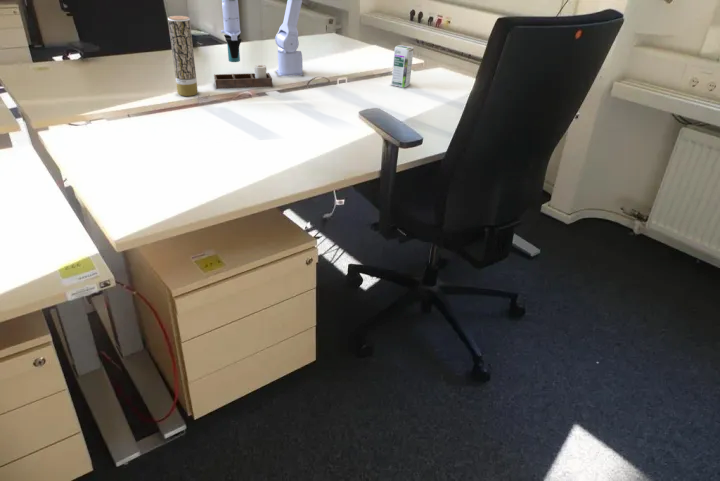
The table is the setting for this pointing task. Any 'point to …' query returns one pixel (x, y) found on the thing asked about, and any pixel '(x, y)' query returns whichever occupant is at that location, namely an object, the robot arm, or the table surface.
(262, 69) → the roll
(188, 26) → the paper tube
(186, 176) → the table surface
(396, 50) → the syrup box
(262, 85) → the rack
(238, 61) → the paper roll
